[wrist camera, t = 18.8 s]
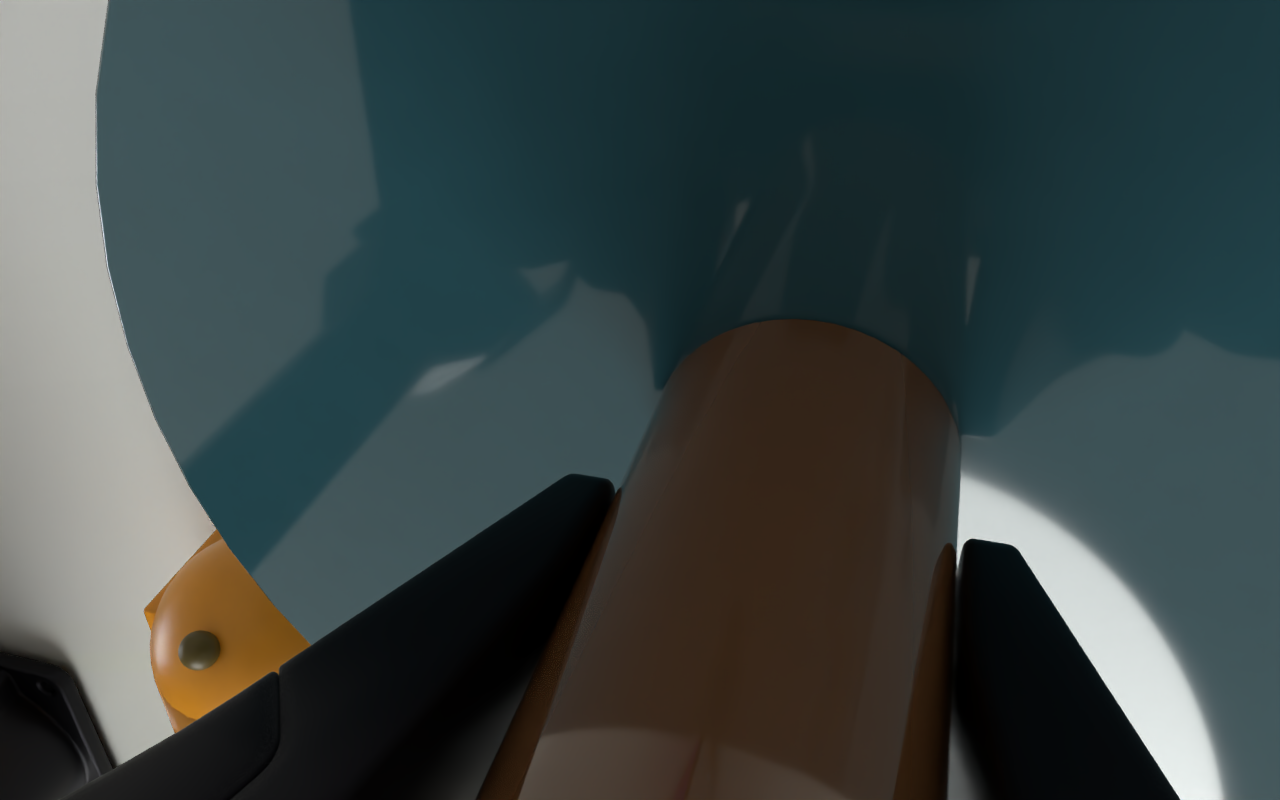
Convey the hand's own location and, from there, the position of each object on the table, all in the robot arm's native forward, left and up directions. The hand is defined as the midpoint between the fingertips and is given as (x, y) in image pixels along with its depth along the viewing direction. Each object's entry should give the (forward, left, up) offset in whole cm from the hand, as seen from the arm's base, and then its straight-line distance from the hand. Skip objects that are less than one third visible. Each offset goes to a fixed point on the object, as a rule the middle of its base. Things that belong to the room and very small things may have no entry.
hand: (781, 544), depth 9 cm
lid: (0, 0, -2) cm, 2 cm away
